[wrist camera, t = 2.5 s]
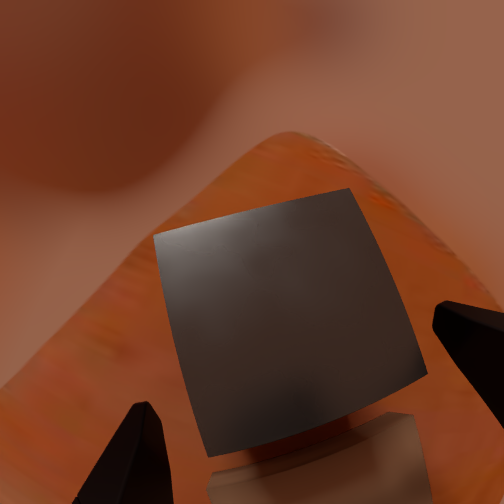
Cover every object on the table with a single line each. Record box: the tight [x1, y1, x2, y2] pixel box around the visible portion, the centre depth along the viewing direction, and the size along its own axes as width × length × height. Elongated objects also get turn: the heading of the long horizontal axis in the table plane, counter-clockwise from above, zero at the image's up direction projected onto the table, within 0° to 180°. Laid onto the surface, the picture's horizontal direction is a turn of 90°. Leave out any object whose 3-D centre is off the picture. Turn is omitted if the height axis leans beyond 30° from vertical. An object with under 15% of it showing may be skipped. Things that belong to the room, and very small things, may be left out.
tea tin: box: [153, 188, 428, 457], centre depth 12 cm, size 7×7×10 cm
